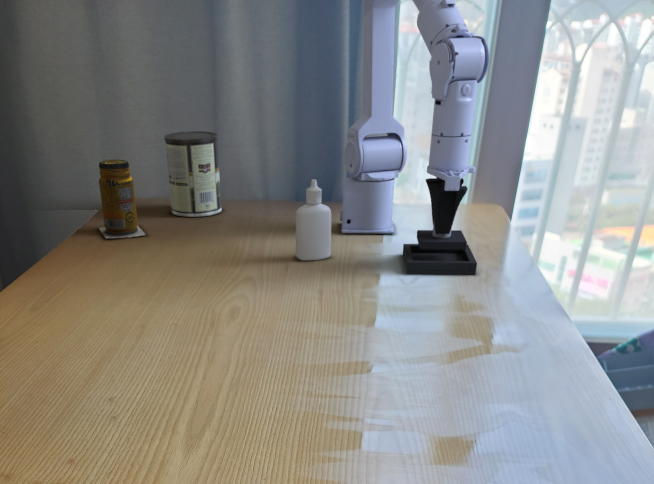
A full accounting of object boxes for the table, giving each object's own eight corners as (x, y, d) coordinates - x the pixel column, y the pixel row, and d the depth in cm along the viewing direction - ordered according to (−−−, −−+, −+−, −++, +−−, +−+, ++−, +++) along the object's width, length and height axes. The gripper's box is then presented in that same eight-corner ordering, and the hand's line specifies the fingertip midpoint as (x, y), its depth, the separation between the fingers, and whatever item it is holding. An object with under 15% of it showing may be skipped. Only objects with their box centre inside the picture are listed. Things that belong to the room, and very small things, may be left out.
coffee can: (192, 203, 157) (186, 129, 150) (231, 209, 153) (228, 133, 145) (160, 213, 150) (153, 136, 142) (201, 219, 146) (195, 140, 138)
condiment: (137, 225, 143) (129, 157, 136) (146, 236, 136) (138, 164, 129) (98, 229, 141) (88, 159, 134) (105, 240, 134) (96, 168, 127)
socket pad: (406, 273, 115) (407, 262, 114) (402, 254, 124) (403, 243, 123) (475, 274, 115) (477, 263, 114) (466, 255, 123) (468, 244, 122)
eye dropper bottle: (297, 253, 125) (297, 176, 119) (331, 254, 125) (333, 177, 118) (294, 261, 122) (294, 182, 115) (328, 262, 121) (330, 182, 114)
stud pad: (419, 249, 115) (422, 217, 112) (416, 237, 121) (419, 207, 118) (466, 249, 114) (470, 217, 112) (460, 237, 120) (464, 207, 117)
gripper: (486, 141, 102) (473, 243, 110) (472, 127, 115) (461, 219, 122) (434, 142, 103) (425, 242, 111) (425, 127, 115) (417, 219, 123)
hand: (441, 230), depth 116 cm, fingers closed on stud pad, 3 cm apart
